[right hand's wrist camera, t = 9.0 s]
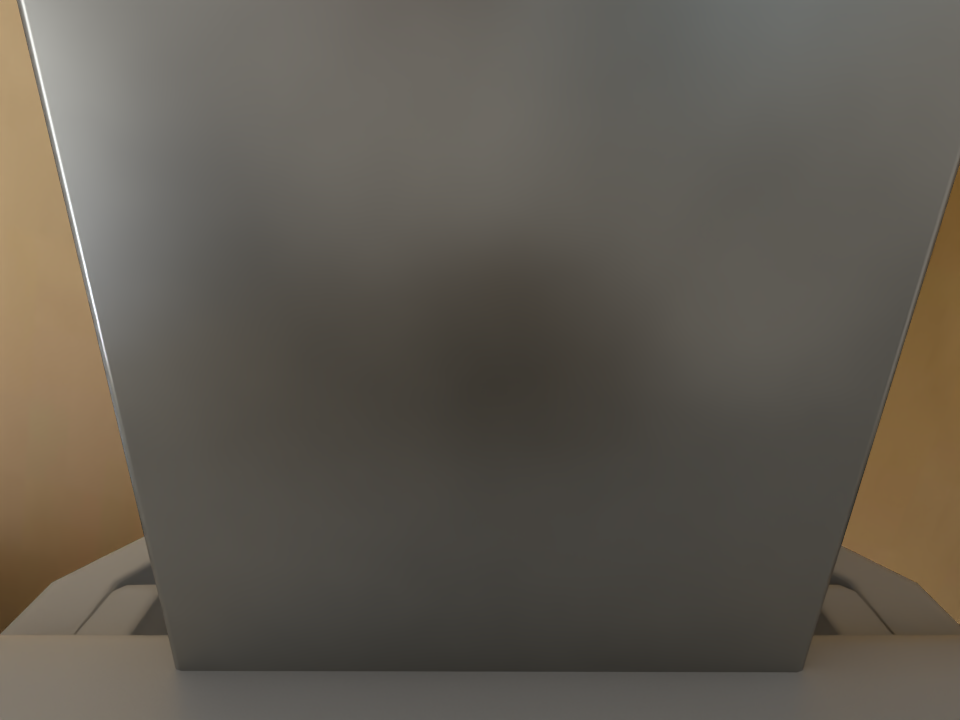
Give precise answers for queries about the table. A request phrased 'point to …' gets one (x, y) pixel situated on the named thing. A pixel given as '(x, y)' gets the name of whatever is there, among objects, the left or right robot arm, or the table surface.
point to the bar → (498, 312)
